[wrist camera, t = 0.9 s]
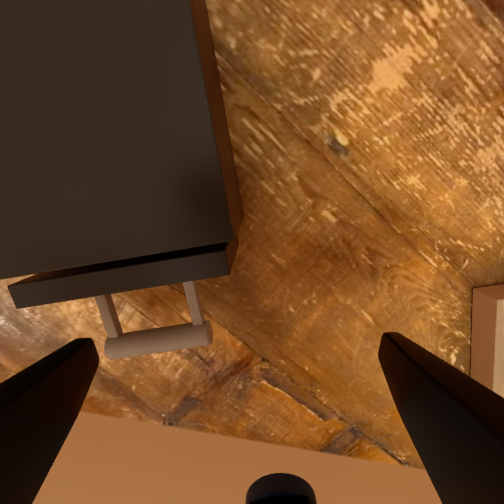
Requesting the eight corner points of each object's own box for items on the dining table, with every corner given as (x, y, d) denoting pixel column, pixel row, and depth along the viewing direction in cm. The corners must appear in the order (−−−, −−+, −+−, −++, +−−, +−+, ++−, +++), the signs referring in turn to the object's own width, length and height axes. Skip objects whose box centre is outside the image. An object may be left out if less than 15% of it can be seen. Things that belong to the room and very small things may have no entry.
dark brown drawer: (250, 304, 20) (248, 363, 13) (116, 325, 20) (50, 391, 14) (201, 41, 16) (162, -64, 9) (36, 75, 16) (-113, -1, 10)
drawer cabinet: (243, 217, 19) (235, 240, 11) (90, 243, 20) (-31, 285, 11) (204, -6, 16) (148, -218, 8) (23, 33, 17) (-213, -123, 8)
